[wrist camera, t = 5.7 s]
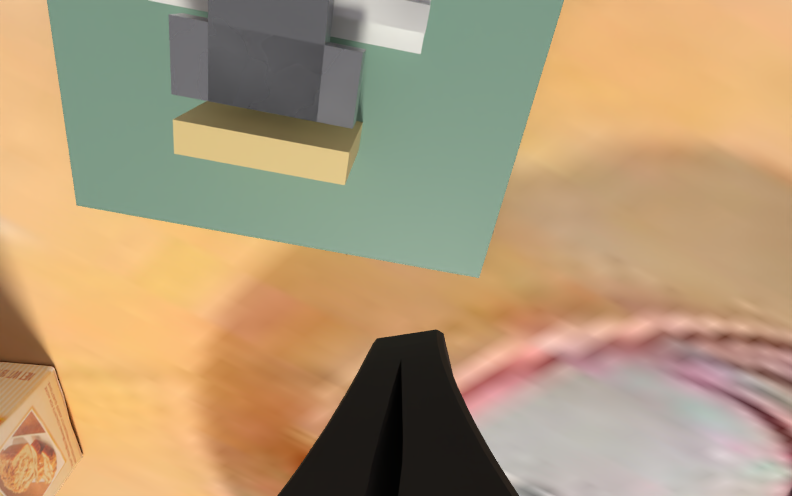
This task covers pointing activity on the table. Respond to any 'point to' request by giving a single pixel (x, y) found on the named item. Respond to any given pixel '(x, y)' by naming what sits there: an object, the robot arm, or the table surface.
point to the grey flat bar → (267, 59)
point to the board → (312, 129)
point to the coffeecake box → (34, 432)
